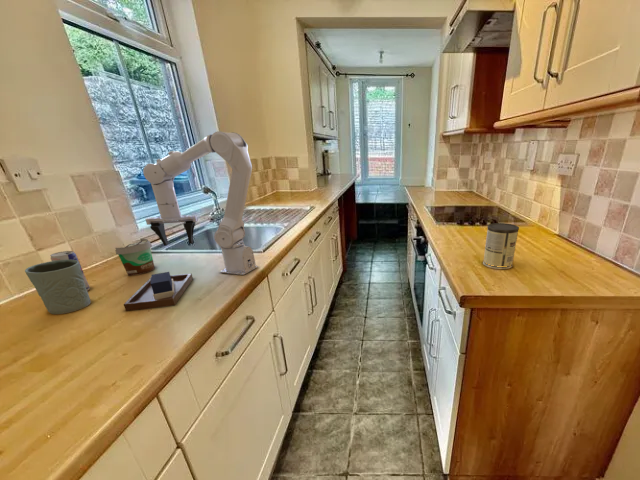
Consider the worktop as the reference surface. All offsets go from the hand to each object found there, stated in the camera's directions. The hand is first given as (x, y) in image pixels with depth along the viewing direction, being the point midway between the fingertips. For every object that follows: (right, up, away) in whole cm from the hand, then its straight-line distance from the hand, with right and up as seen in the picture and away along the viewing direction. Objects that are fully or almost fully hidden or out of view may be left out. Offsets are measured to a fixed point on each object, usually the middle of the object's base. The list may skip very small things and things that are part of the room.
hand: (179, 243), depth 108 cm
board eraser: (+5, -16, -15) cm, 22 cm away
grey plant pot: (-15, -20, -22) cm, 33 cm away
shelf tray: (+4, -17, -14) cm, 22 cm away
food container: (-14, -9, +3) cm, 17 cm away
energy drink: (-22, -16, -12) cm, 30 cm away
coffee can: (+111, -7, +7) cm, 112 cm away
